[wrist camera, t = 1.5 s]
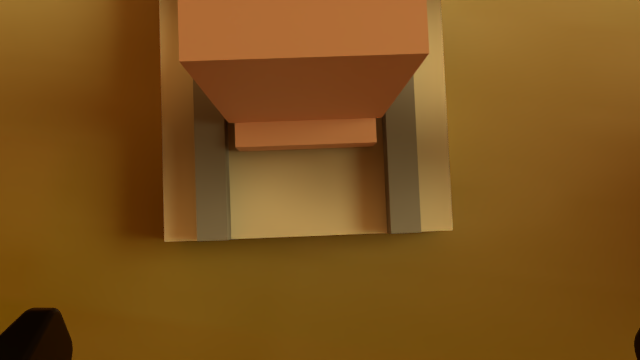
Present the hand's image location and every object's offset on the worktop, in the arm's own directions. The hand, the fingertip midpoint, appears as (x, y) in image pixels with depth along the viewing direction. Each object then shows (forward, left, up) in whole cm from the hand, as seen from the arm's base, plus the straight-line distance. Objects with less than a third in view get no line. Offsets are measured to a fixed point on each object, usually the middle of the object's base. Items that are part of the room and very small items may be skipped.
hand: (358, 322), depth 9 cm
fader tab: (+3, +5, -11) cm, 13 cm away
